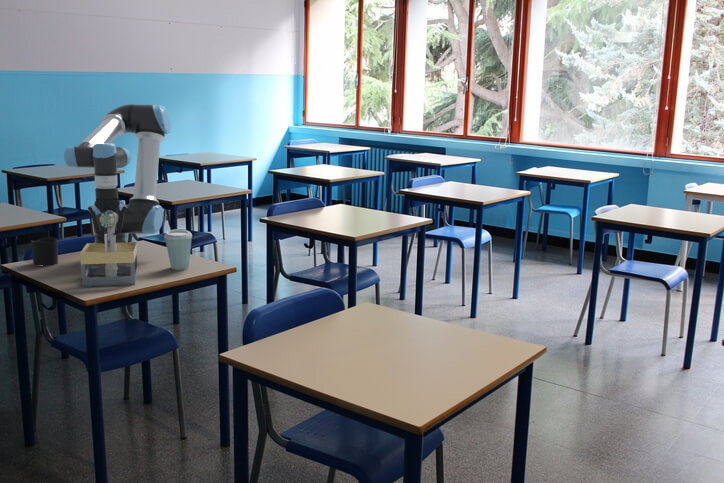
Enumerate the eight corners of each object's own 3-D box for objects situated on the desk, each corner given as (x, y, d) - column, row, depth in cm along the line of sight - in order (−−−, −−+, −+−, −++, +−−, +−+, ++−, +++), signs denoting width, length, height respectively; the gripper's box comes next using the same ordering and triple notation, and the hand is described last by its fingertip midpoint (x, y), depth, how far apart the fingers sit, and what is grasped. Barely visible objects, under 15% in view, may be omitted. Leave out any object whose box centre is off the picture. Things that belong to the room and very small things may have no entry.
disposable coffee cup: (199, 268, 263) (198, 231, 260) (178, 273, 254) (176, 234, 251) (180, 264, 269) (179, 228, 266) (159, 269, 260) (157, 231, 257)
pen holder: (59, 266, 262) (57, 241, 260) (32, 268, 258) (31, 242, 256) (58, 261, 271) (56, 237, 269) (32, 263, 266) (30, 238, 264)
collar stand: (88, 275, 249) (86, 243, 247) (137, 273, 253) (136, 242, 251) (82, 286, 232) (80, 253, 230) (135, 284, 237) (133, 251, 235)
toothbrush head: (120, 277, 245) (123, 210, 240) (110, 281, 238) (112, 212, 234) (108, 275, 246) (110, 208, 241) (97, 279, 239) (99, 210, 235)
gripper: (83, 188, 231) (87, 255, 236) (127, 188, 235) (130, 253, 239) (86, 186, 238) (89, 250, 243) (128, 185, 242) (131, 249, 246)
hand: (109, 252), depth 241 cm, fingers closed on toothbrush head
